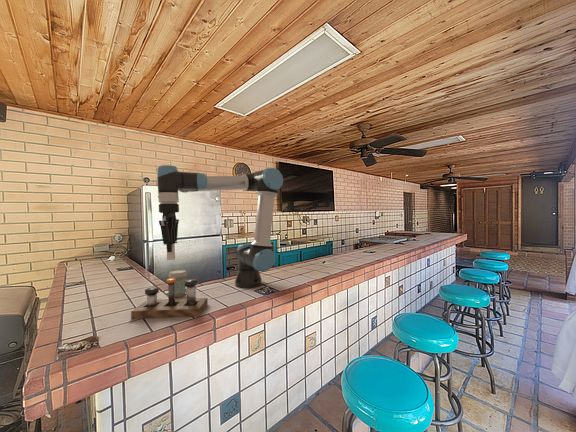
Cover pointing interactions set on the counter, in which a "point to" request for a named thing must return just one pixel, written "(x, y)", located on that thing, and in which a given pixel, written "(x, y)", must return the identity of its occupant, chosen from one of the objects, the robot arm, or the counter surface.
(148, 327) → the counter surface
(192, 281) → the knob
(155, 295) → the knob
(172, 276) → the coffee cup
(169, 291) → the dark piece
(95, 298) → the counter surface
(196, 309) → the mount board
